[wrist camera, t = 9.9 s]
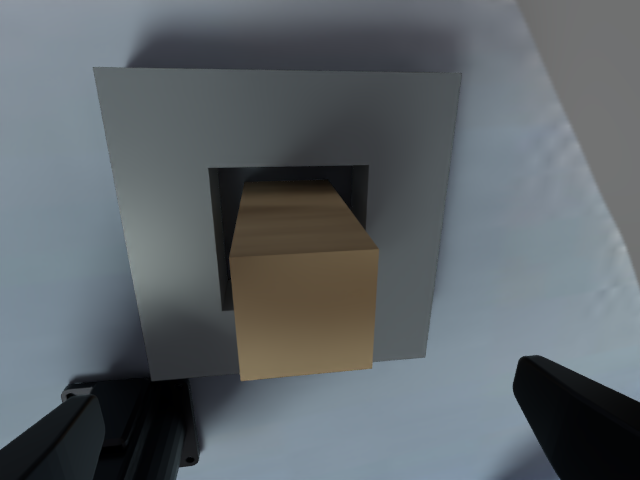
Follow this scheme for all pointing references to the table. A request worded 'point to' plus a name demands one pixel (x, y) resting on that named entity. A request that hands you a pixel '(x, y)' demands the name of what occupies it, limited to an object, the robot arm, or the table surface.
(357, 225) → the peg
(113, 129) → the socket block
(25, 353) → the table surface
